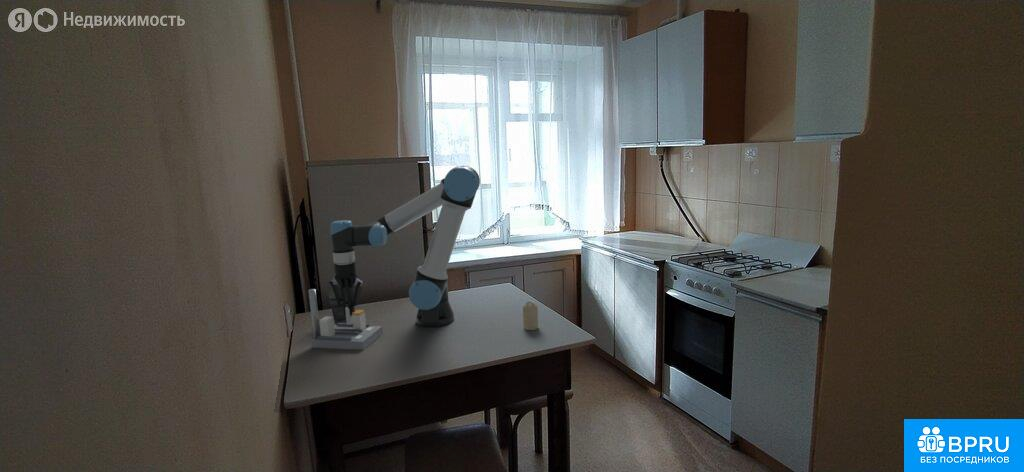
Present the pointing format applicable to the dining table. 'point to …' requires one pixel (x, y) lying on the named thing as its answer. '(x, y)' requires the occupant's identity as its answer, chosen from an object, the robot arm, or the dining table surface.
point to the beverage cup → (336, 309)
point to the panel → (348, 337)
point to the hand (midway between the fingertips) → (350, 323)
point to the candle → (530, 316)
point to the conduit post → (314, 313)
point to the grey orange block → (359, 319)
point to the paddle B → (327, 326)
